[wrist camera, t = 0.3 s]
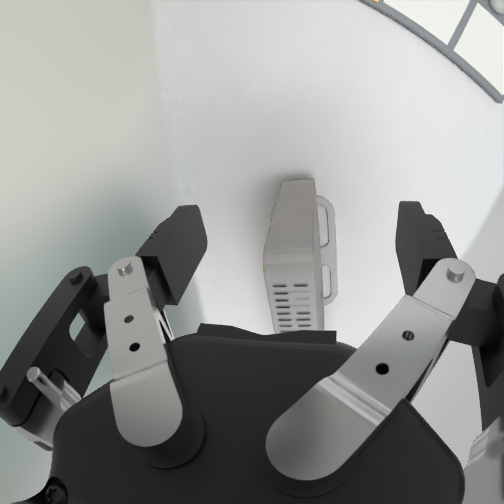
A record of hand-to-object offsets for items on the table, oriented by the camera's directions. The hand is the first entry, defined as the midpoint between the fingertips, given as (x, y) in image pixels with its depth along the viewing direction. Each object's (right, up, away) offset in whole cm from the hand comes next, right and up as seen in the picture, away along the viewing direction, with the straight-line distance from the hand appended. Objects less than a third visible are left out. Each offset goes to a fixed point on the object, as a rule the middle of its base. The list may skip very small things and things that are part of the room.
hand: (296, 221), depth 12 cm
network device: (+6, -2, +34) cm, 34 cm away
